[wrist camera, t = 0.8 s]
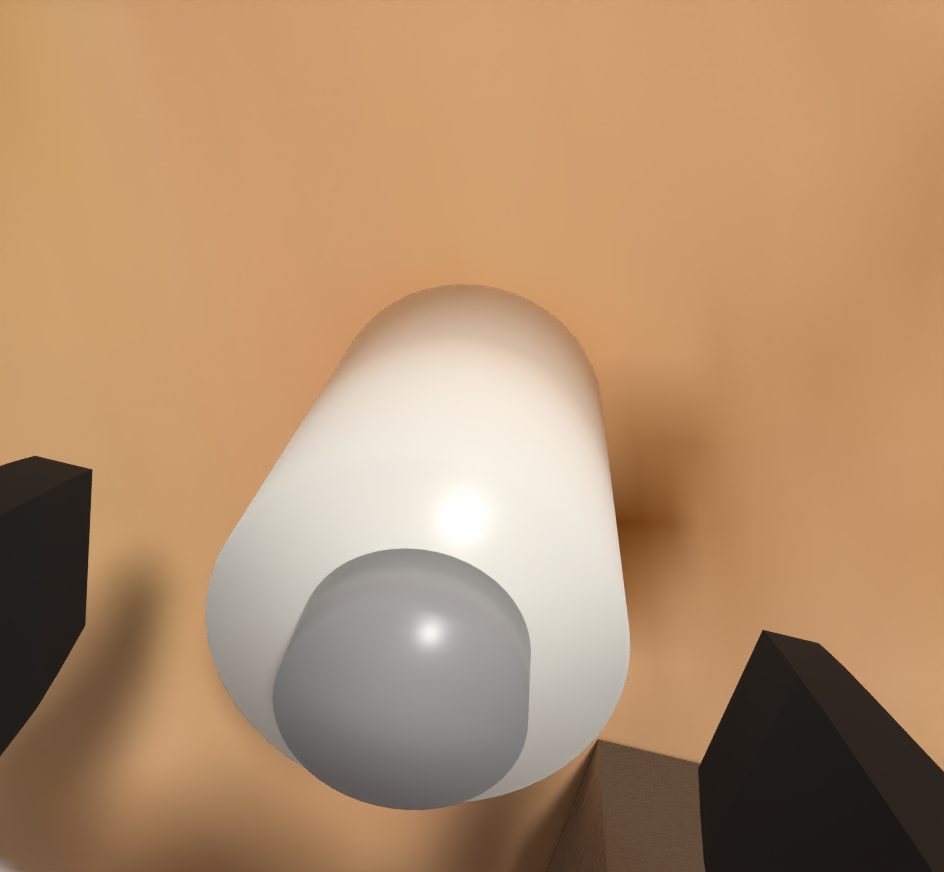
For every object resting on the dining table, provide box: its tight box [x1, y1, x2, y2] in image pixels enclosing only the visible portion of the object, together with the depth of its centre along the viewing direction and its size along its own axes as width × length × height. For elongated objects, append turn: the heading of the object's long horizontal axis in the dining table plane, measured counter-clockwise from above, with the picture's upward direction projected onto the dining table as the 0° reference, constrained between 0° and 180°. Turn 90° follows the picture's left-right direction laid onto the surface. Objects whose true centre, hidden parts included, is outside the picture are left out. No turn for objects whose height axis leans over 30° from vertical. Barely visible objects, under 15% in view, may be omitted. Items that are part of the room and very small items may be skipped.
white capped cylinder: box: [206, 284, 630, 810], centre depth 11 cm, size 4×4×7 cm
